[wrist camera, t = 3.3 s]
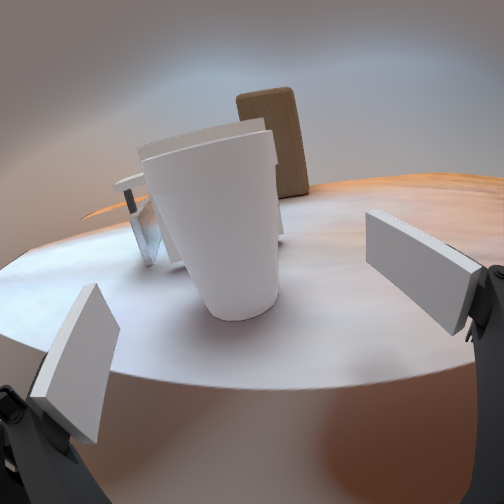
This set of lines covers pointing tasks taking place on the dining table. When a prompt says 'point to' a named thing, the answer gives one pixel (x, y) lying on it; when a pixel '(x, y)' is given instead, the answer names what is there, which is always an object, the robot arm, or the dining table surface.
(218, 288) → the foam cup
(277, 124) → the wooden block
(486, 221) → the dining table surface
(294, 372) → the dining table surface
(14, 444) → the robot arm
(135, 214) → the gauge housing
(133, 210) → the gauge slider
